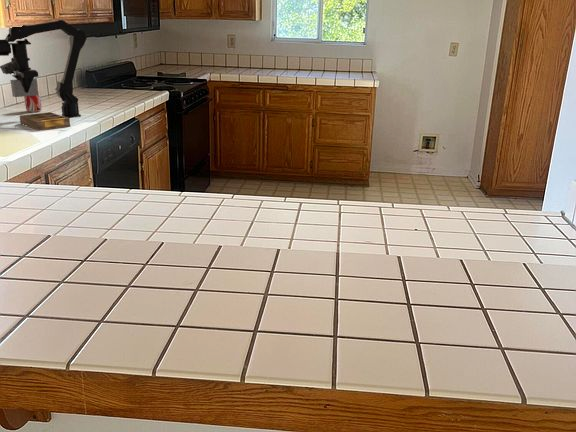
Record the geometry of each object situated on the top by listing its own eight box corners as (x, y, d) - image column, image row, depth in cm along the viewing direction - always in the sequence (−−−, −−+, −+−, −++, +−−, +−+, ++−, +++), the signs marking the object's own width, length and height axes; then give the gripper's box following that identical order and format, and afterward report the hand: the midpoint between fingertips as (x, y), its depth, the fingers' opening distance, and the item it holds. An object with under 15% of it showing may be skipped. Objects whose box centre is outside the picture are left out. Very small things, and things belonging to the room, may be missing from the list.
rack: (51, 120, 252) (50, 111, 250) (70, 126, 240) (69, 117, 238) (20, 123, 243) (19, 115, 241) (38, 130, 231) (37, 121, 229)
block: (35, 94, 253) (33, 78, 250) (38, 95, 251) (36, 79, 249) (12, 96, 246) (10, 79, 244) (15, 97, 244) (13, 80, 242)
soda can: (36, 112, 267) (33, 87, 263) (23, 112, 268) (19, 86, 264) (45, 110, 273) (42, 85, 269) (32, 109, 275) (28, 84, 270)
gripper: (-8, 54, 243) (-2, 91, 249) (9, 57, 231) (14, 96, 237) (18, 53, 251) (23, 89, 256) (36, 56, 239) (41, 94, 244)
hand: (25, 92), depth 248 cm, fingers closed on block, 3 cm apart
